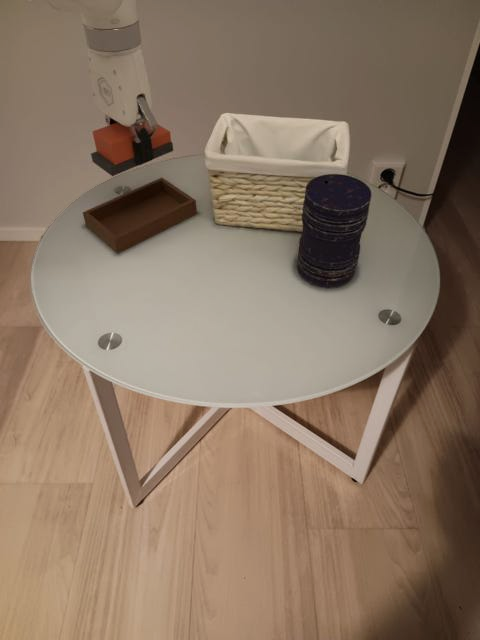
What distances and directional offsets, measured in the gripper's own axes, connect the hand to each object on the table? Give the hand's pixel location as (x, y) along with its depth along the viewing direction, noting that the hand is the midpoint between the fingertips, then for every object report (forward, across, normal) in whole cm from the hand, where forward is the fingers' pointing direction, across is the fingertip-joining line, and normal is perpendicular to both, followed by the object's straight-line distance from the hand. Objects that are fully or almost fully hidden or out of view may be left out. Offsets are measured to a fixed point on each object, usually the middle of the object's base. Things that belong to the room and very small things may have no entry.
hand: (132, 153), depth 84 cm
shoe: (+1, 0, 0) cm, 1 cm away
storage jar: (+14, +31, +15) cm, 37 cm away
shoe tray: (+14, -1, 0) cm, 14 cm away
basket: (+14, +13, +21) cm, 29 cm away
